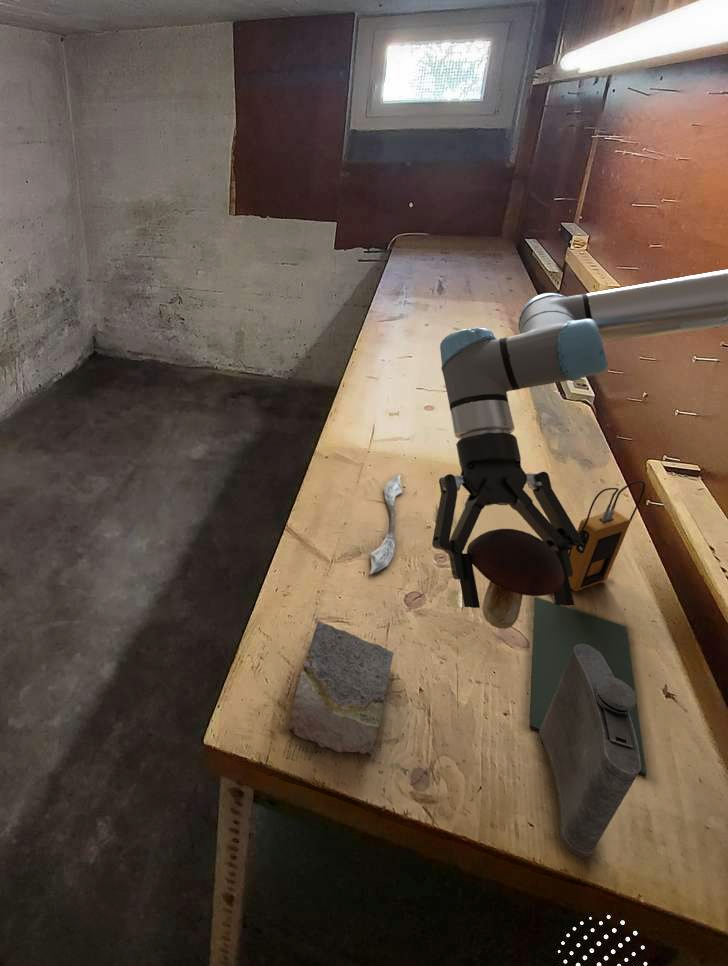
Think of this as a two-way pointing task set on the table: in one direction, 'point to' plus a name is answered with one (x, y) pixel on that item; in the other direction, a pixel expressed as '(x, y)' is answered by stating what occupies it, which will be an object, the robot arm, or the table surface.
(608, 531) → the multimeter
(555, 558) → the decorative mushroom
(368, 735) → the geological specimen
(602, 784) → the flask
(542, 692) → the mat
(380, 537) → the table surface
